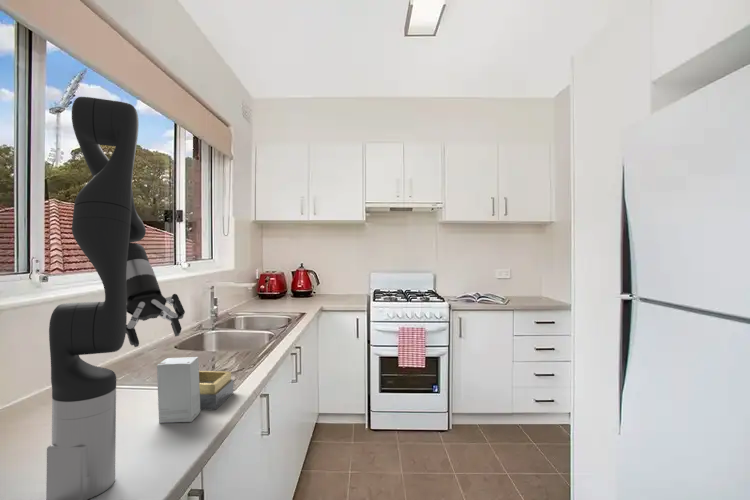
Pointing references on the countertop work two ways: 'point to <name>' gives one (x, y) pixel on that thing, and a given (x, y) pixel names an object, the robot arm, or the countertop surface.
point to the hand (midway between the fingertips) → (158, 339)
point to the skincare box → (178, 389)
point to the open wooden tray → (214, 388)
